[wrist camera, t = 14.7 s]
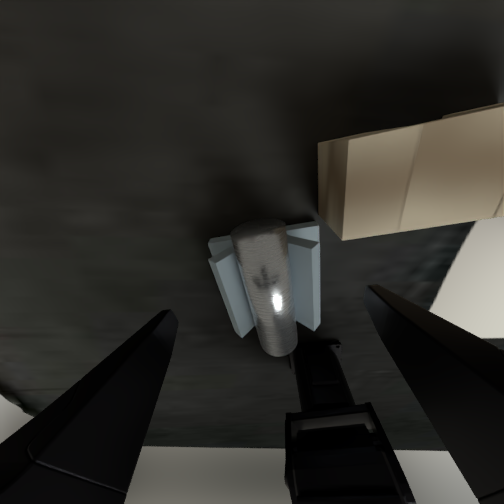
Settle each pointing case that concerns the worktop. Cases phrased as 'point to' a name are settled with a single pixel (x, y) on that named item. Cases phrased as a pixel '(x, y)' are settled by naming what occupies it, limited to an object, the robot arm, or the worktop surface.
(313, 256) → the v block
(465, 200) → the beam
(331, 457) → the robot arm
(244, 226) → the axle
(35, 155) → the worktop surface
